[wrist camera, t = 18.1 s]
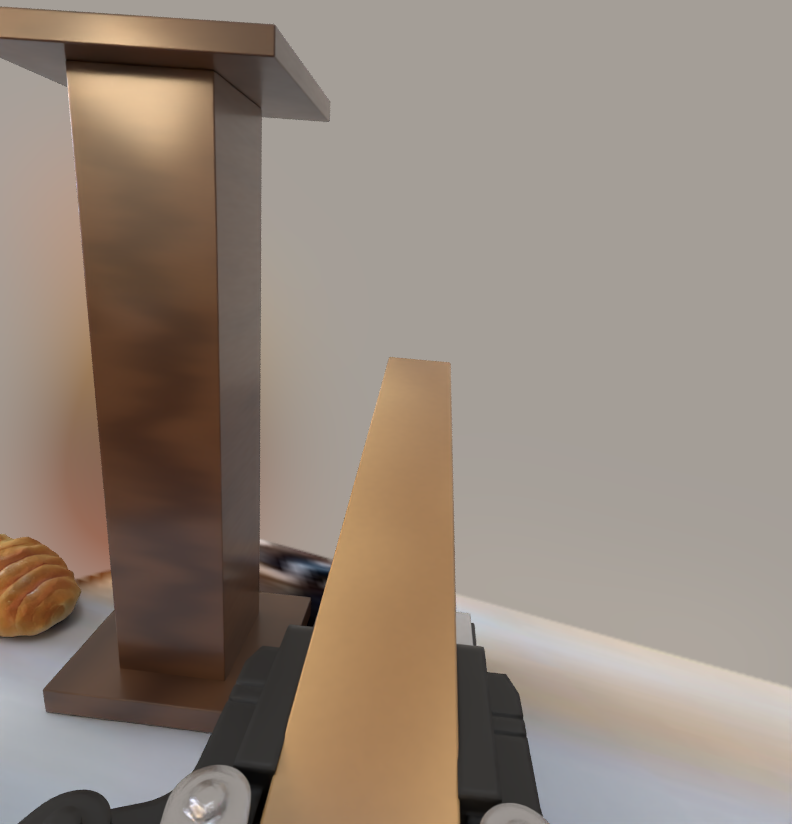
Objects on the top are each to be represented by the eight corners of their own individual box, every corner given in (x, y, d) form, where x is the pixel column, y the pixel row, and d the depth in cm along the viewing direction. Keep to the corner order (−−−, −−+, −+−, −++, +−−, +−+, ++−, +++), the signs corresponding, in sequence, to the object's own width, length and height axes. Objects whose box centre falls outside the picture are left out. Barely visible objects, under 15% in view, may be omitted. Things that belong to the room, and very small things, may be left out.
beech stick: (228, 1087, 8) (208, 1001, 6) (385, 411, 27) (389, 356, 26) (439, 1120, 7) (465, 1039, 6) (443, 417, 27) (450, 362, 26)
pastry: (110, 600, 37) (105, 552, 36) (9, 664, 31) (-1, 610, 30) (22, 560, 41) (15, 516, 39) (-84, 612, 35) (-96, 561, 34)
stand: (45, 712, 28) (-59, 1, 19) (143, 595, 38) (107, 85, 28) (267, 740, 28) (275, 23, 18) (310, 615, 37) (330, 100, 28)
